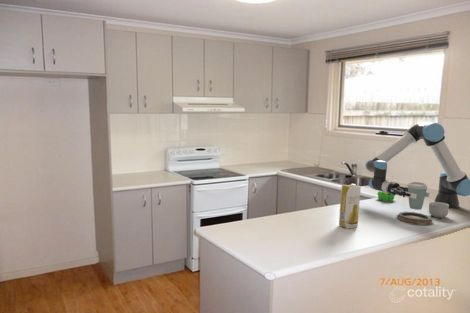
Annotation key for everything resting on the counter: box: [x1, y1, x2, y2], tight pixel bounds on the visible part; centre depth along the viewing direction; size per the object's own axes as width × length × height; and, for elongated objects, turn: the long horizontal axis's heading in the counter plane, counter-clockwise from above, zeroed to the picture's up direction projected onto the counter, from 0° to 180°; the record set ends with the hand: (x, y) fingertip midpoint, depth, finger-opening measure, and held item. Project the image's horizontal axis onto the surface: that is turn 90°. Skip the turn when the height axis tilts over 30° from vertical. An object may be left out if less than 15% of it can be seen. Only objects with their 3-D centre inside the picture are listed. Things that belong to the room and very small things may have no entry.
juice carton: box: [338, 183, 361, 230], centre depth 202 cm, size 9×8×24 cm
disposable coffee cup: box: [406, 181, 428, 211], centre depth 219 cm, size 11×11×15 cm
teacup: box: [428, 201, 450, 219], centre depth 231 cm, size 14×11×8 cm
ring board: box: [396, 211, 433, 226], centre depth 220 cm, size 19×19×2 cm
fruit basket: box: [376, 191, 396, 203], centre depth 266 cm, size 11×9×11 cm
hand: (422, 195), depth 215 cm, fingers closed on disposable coffee cup, 11 cm apart
